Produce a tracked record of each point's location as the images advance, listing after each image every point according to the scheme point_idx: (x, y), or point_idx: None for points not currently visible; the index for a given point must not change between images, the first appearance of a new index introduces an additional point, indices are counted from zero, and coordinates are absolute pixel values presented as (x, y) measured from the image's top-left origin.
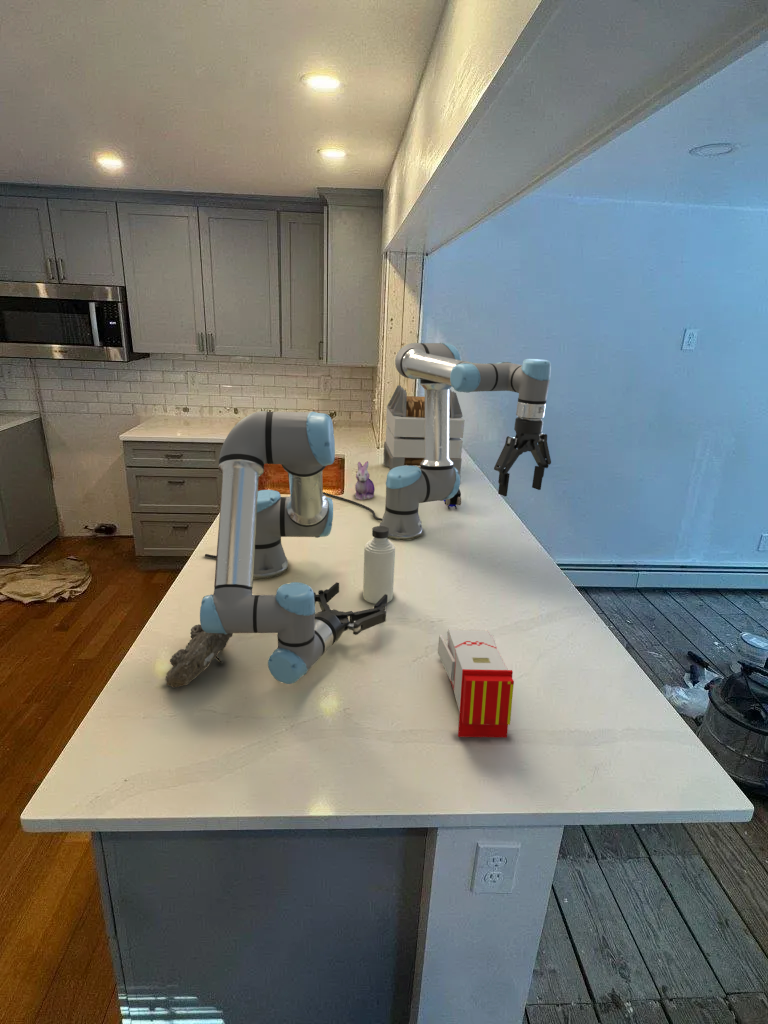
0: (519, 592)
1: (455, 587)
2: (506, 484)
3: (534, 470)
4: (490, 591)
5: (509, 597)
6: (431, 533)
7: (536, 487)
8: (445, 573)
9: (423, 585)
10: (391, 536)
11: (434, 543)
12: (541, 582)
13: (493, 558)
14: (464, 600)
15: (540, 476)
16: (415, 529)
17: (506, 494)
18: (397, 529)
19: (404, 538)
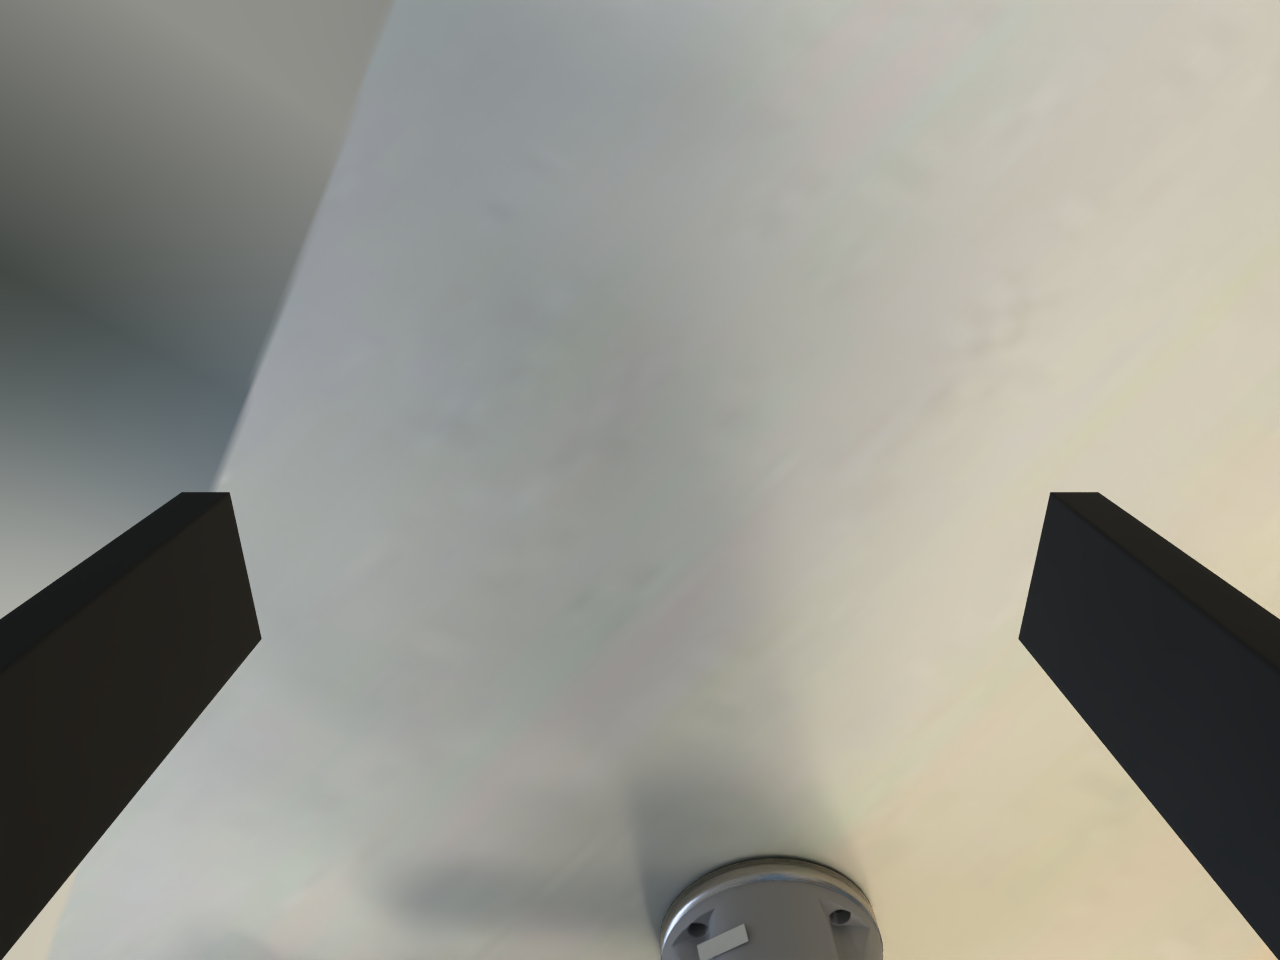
0: (742, 95)
1: (1017, 344)
2: (1259, 612)
3: (38, 909)
4: (888, 202)
5: (851, 75)
6: (634, 873)
7: (226, 564)
8: (928, 501)
9: (1139, 446)
10: (869, 908)
11: (707, 786)
12: (506, 129)
13: (544, 522)
14: (1107, 191)
15: (43, 651)
16: (763, 906)
17: (1077, 507)
18: (850, 936)
19: (823, 873)
